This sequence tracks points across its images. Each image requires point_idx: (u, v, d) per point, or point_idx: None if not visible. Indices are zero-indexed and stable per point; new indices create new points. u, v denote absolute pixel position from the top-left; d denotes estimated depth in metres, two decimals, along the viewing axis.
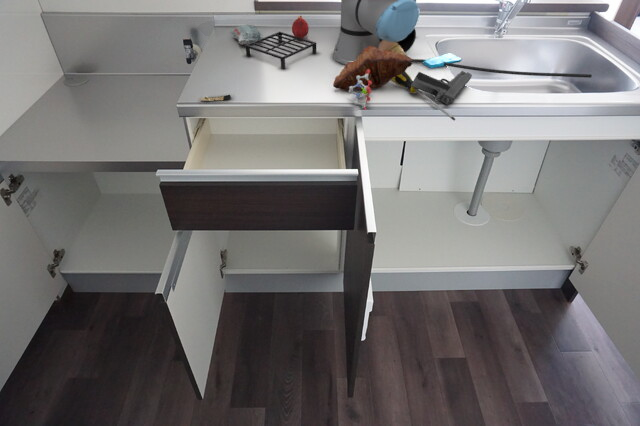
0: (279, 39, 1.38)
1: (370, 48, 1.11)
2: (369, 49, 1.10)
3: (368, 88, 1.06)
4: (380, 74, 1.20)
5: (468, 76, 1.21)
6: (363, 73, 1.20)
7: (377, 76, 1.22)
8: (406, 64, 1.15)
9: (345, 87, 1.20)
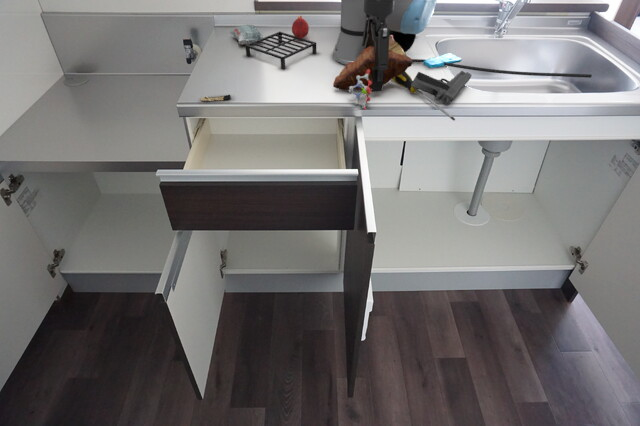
0: (279, 39, 1.38)
1: (370, 48, 1.11)
2: (369, 49, 1.10)
3: (368, 88, 1.06)
4: None
5: (468, 76, 1.21)
6: (363, 73, 1.20)
7: None
8: (406, 64, 1.15)
9: (345, 87, 1.19)
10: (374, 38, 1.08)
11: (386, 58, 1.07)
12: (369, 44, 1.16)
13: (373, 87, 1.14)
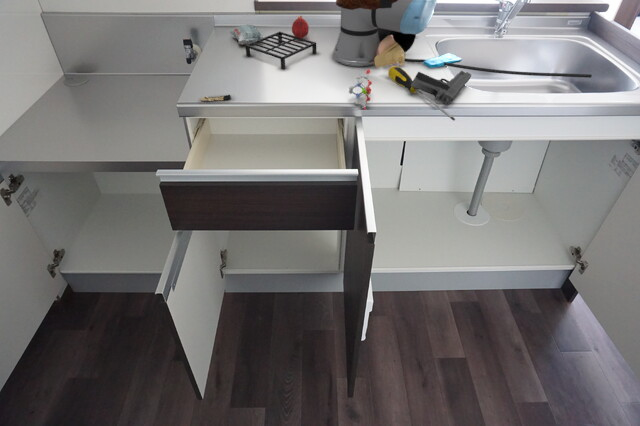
0: (279, 39, 1.38)
1: None
2: None
3: (368, 88, 1.06)
4: None
5: (467, 76, 1.21)
6: None
7: None
8: None
9: (349, 7, 1.05)
10: None
11: None
12: None
13: (381, 2, 1.00)
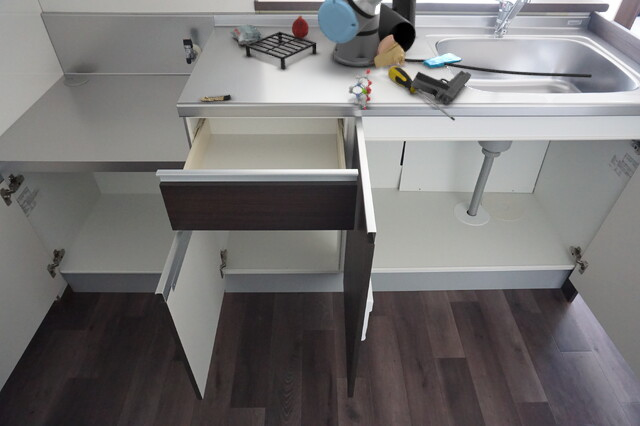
0: (279, 39, 1.38)
1: None
2: None
3: (368, 88, 1.06)
4: None
5: (467, 76, 1.21)
6: None
7: None
8: None
9: None
10: None
11: None
12: None
13: None
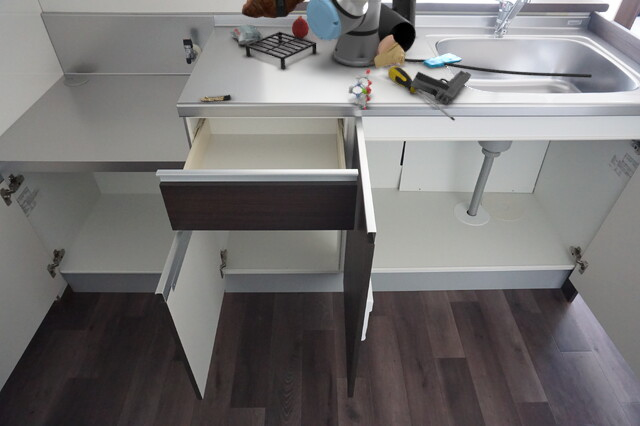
0: (279, 39, 1.38)
1: None
2: None
3: (368, 88, 1.06)
4: (287, 4, 1.30)
5: (467, 76, 1.21)
6: (272, 3, 1.30)
7: (286, 7, 1.32)
8: None
9: (254, 16, 1.29)
10: None
11: None
12: None
13: (277, 12, 1.24)
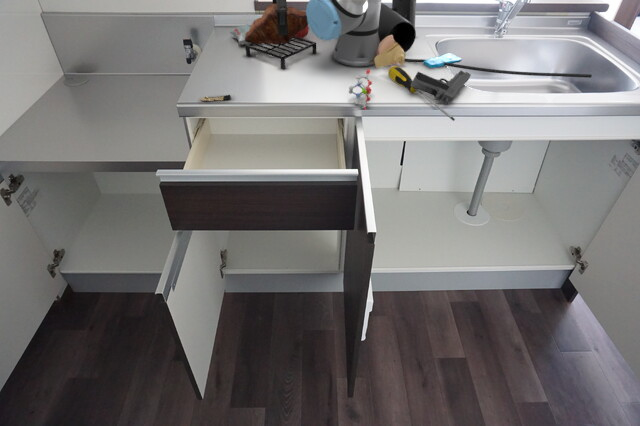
0: None
1: (273, 5, 1.26)
2: (272, 5, 1.26)
3: (368, 88, 1.06)
4: (288, 31, 1.35)
5: (467, 76, 1.21)
6: (274, 30, 1.36)
7: None
8: None
9: (257, 42, 1.35)
10: None
11: (284, 1, 1.19)
12: None
13: (279, 31, 1.26)
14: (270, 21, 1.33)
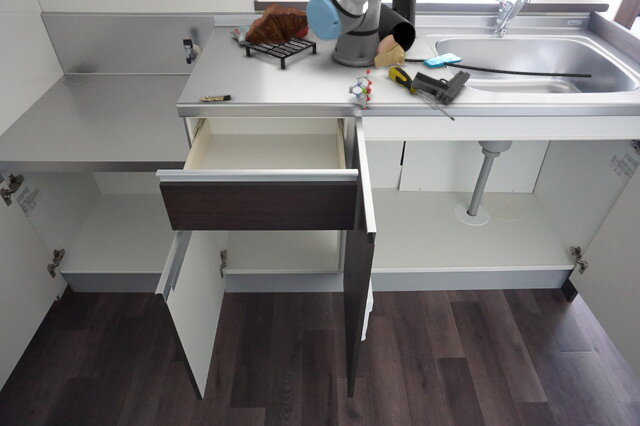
0: None
1: (273, 5, 1.26)
2: (272, 5, 1.26)
3: (368, 88, 1.06)
4: (288, 31, 1.35)
5: (466, 76, 1.21)
6: (274, 30, 1.36)
7: (287, 33, 1.37)
8: None
9: (257, 42, 1.35)
10: None
11: None
12: None
13: None
14: (270, 21, 1.33)
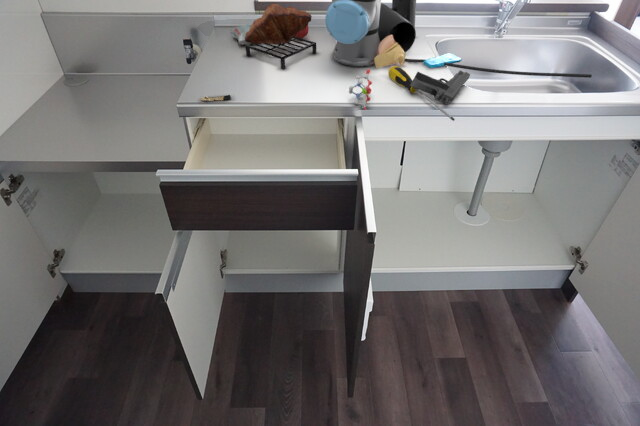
0: None
1: (273, 5, 1.26)
2: (272, 5, 1.26)
3: (368, 88, 1.06)
4: (288, 31, 1.35)
5: (466, 75, 1.21)
6: (274, 30, 1.36)
7: (287, 33, 1.37)
8: (308, 20, 1.30)
9: (257, 42, 1.35)
10: None
11: None
12: None
13: None
14: (270, 21, 1.33)
